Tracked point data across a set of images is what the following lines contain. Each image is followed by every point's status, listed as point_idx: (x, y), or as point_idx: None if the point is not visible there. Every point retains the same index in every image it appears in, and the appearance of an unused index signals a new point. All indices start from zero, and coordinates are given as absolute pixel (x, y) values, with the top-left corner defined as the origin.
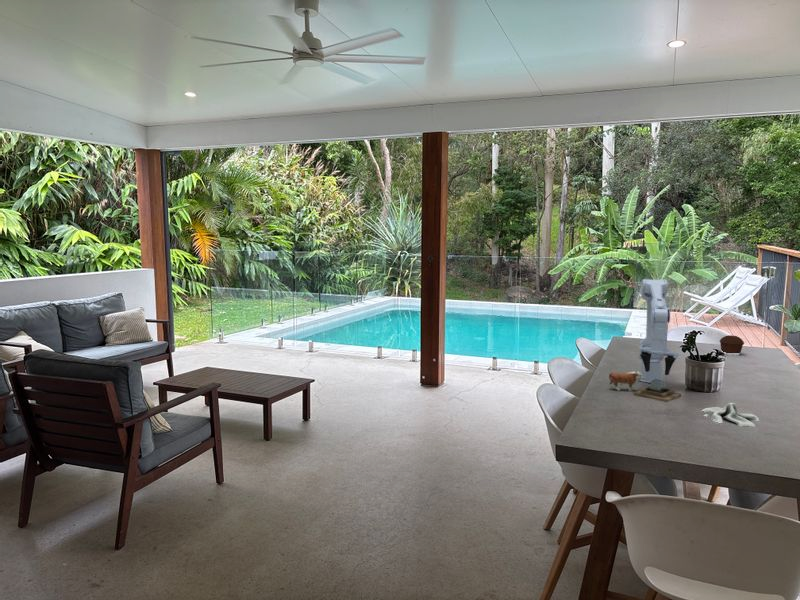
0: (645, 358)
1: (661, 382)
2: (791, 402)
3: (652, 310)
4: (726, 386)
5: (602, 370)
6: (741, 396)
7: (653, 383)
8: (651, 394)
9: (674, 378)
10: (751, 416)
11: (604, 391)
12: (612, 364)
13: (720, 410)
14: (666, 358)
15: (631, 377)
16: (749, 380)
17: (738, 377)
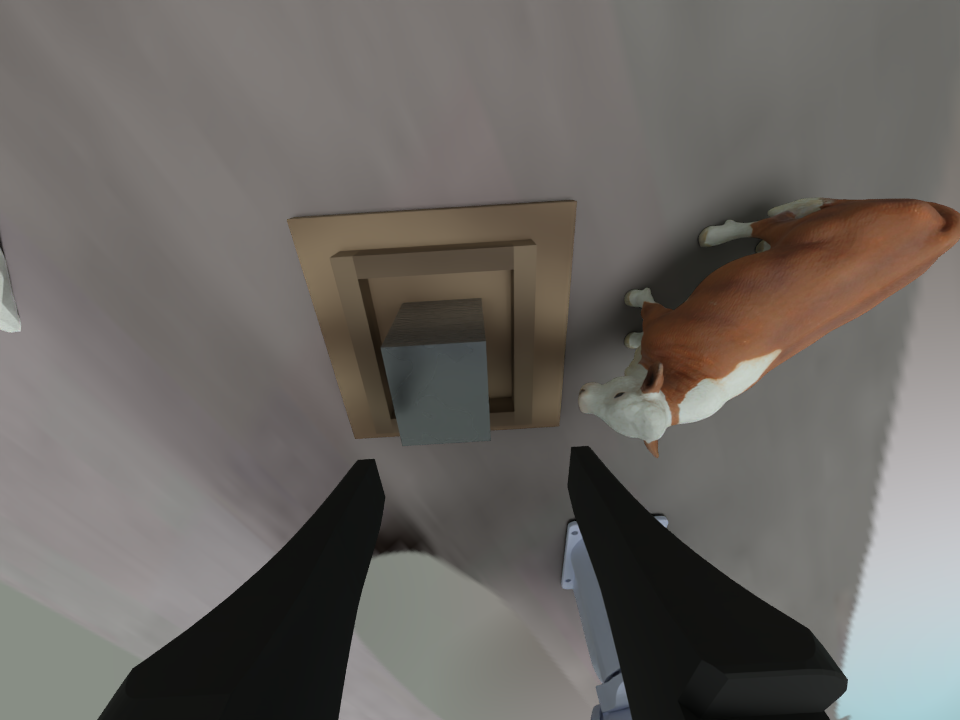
0: (673, 600)
1: (386, 364)
2: (82, 622)
3: None
4: (355, 643)
5: (858, 555)
6: (220, 585)
7: (454, 333)
8: (440, 247)
9: (542, 623)
10: None
11: (826, 92)
12: (815, 635)
13: None
14: (179, 717)
15: (686, 336)
16: (364, 709)
17: (404, 713)
